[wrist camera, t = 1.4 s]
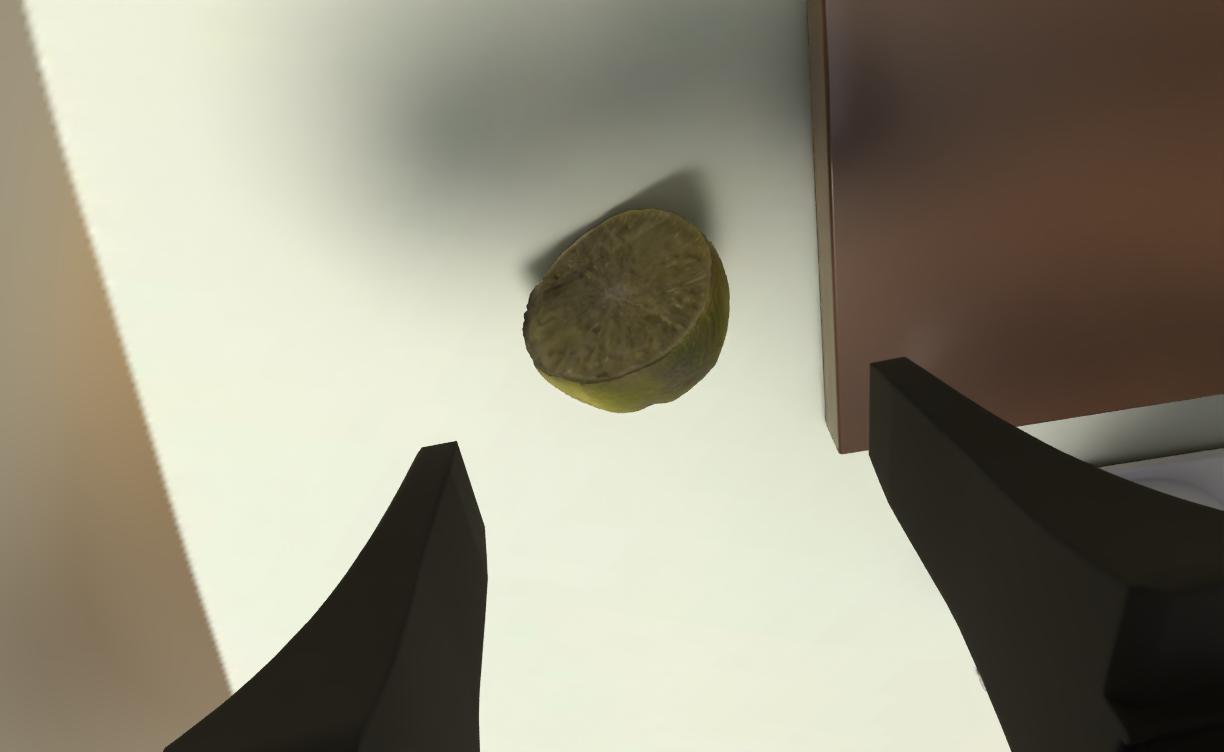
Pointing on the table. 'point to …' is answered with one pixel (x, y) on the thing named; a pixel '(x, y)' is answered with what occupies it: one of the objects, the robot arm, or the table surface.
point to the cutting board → (1020, 201)
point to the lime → (630, 312)
